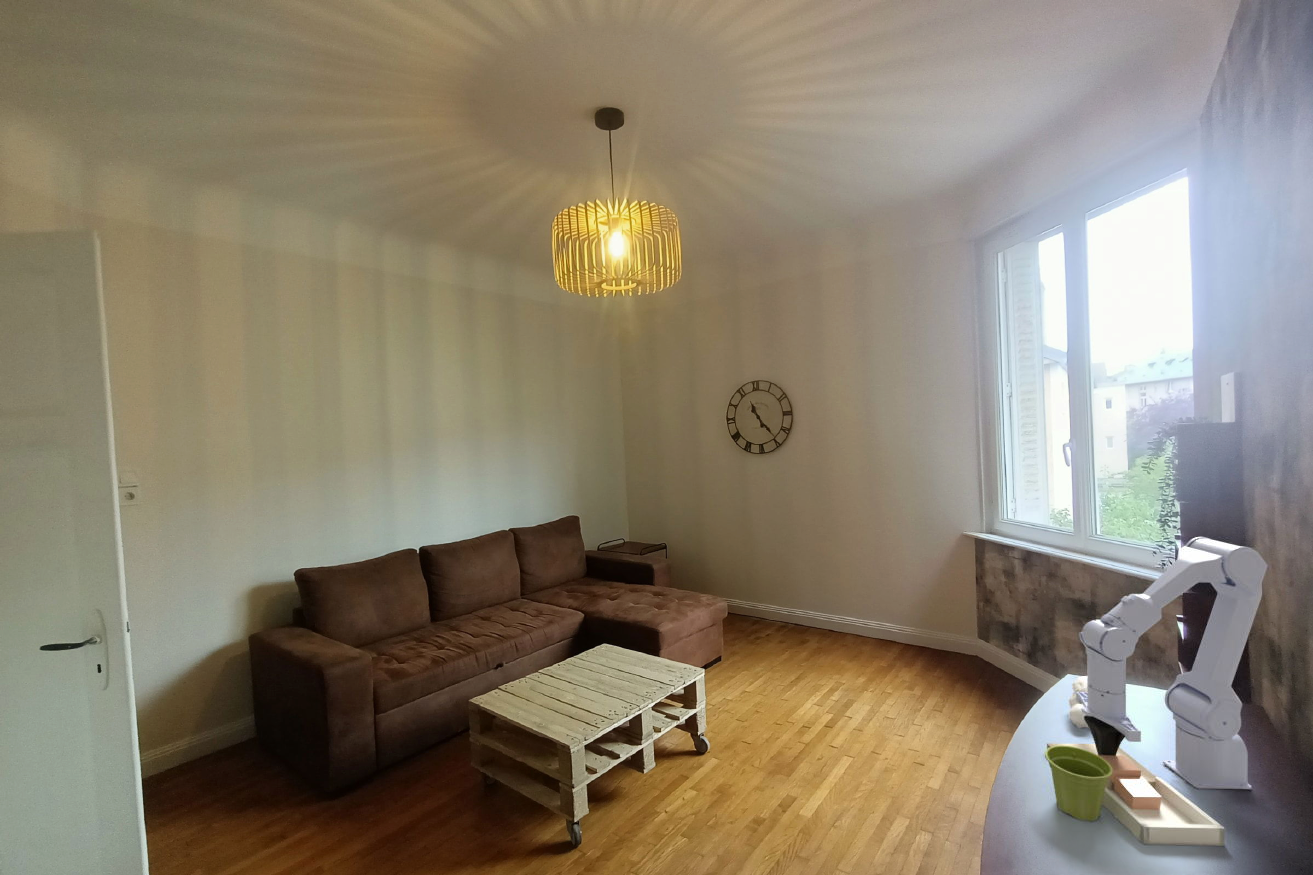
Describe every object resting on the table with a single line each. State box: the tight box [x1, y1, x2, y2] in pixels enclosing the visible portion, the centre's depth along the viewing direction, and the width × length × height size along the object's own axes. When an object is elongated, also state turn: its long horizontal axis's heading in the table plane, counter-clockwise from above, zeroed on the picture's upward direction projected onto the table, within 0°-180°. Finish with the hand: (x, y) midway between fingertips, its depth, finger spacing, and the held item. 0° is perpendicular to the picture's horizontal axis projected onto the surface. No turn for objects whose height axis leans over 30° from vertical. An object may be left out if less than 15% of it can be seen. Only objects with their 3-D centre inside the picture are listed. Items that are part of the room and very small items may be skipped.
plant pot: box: [1044, 746, 1113, 822], centre depth 101 cm, size 9×9×9 cm
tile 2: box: [1114, 776, 1162, 810], centre depth 102 cm, size 4×4×2 cm
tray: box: [1102, 776, 1226, 847], centre depth 99 cm, size 12×13×3 cm
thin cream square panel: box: [1046, 742, 1157, 790], centre depth 111 cm, size 13×12×2 cm
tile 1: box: [1098, 755, 1141, 783], centre depth 107 cm, size 4×4×2 cm
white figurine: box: [1066, 675, 1089, 729], centre depth 129 cm, size 6×8×12 cm
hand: (1106, 758), depth 110 cm, fingers closed
